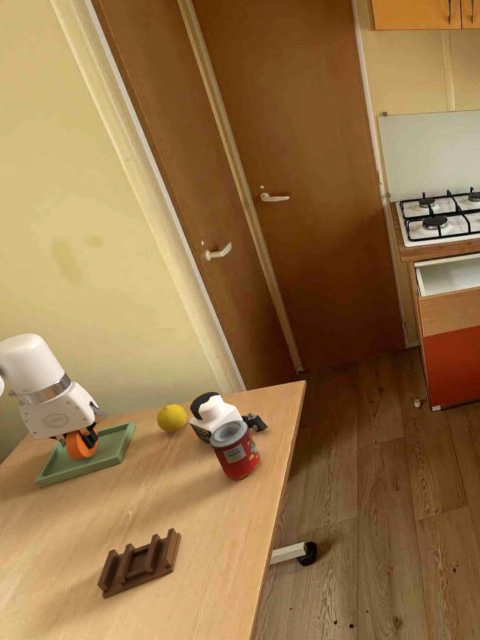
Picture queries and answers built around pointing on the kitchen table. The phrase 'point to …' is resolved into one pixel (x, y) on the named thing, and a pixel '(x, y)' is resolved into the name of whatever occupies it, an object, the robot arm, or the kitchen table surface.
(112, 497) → the kitchen table surface
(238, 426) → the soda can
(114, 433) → the tray
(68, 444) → the disc
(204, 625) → the kitchen table surface
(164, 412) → the lemon
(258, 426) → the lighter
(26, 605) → the kitchen table surface
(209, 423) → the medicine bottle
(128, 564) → the rack
